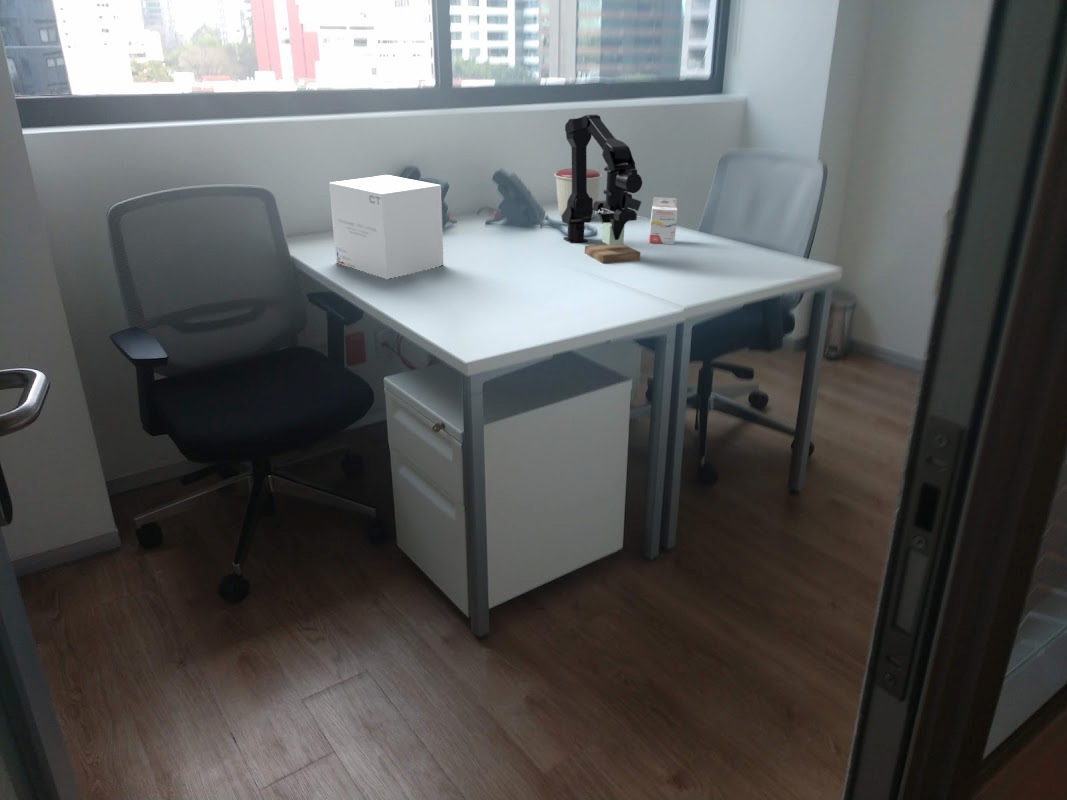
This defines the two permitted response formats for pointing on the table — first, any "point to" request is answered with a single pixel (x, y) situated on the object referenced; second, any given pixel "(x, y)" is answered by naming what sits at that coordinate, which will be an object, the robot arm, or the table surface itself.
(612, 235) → the sage block
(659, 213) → the ink cartridge box
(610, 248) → the walnut base
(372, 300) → the table surface
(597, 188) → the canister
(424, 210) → the cube
